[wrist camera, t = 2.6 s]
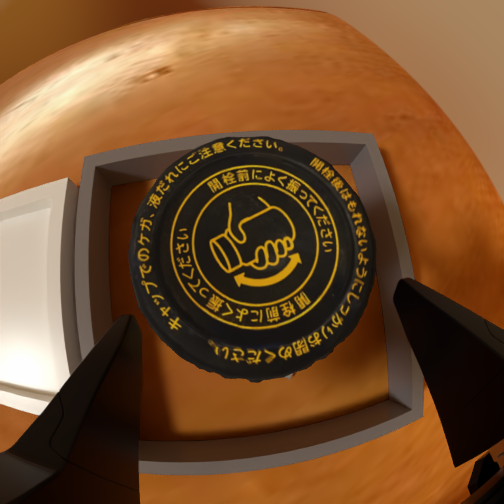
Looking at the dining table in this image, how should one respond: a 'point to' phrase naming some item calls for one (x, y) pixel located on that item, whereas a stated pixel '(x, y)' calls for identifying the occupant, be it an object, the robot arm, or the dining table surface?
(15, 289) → the tray
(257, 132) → the gray square frame
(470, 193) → the dining table surface
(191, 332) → the condiment
